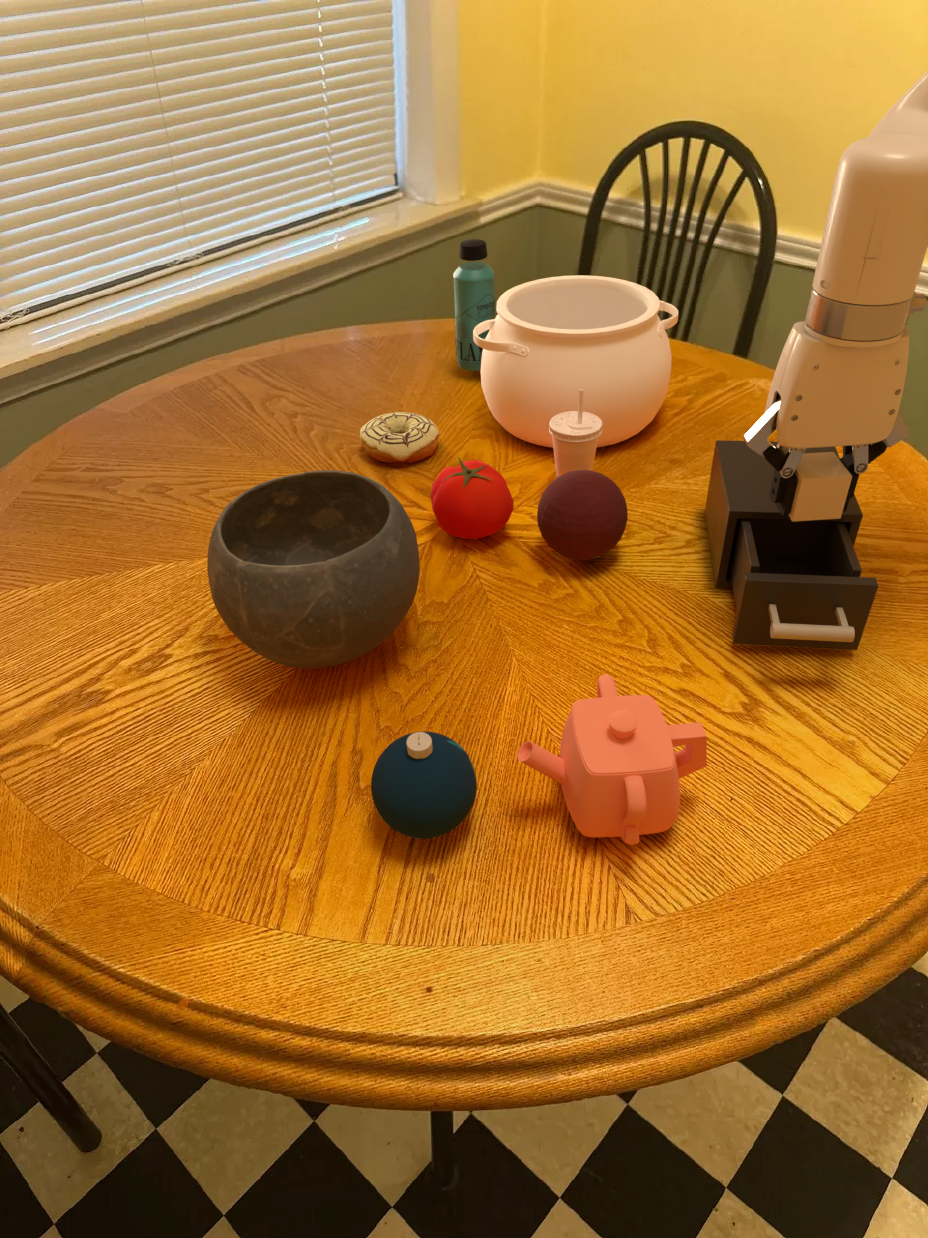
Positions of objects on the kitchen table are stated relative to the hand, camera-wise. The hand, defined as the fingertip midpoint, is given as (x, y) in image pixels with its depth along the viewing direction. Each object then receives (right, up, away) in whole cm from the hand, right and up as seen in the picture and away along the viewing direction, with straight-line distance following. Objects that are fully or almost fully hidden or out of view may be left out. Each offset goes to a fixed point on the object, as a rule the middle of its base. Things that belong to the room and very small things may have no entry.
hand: (808, 504), depth 81 cm
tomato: (-31, 0, +23) cm, 39 cm away
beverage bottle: (-30, +29, +57) cm, 71 cm away
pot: (-17, +19, +44) cm, 51 cm away
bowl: (-46, -13, +9) cm, 49 cm away
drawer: (0, -11, +6) cm, 12 cm away
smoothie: (-19, +5, +28) cm, 34 cm away
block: (0, 0, 0) cm, 0 cm away
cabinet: (+2, -3, +17) cm, 17 cm away
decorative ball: (-19, -3, +18) cm, 27 cm away
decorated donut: (-41, +13, +39) cm, 58 cm away
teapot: (-20, -26, -9) cm, 34 cm away
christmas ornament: (-35, -27, -9) cm, 46 cm away
